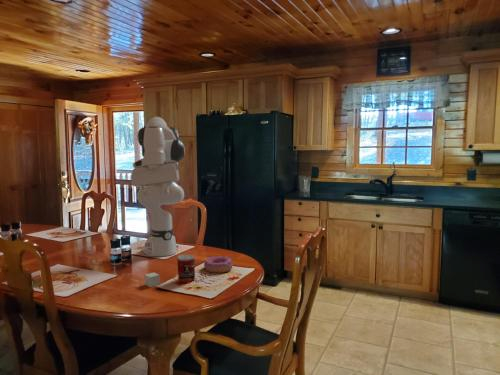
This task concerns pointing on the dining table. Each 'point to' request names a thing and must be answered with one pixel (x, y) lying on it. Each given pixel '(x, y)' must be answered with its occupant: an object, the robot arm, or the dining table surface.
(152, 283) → the sage block
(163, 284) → the dining table surface
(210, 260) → the donut
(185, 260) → the canned food
